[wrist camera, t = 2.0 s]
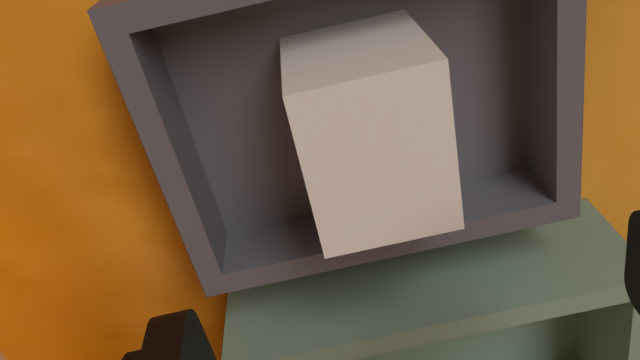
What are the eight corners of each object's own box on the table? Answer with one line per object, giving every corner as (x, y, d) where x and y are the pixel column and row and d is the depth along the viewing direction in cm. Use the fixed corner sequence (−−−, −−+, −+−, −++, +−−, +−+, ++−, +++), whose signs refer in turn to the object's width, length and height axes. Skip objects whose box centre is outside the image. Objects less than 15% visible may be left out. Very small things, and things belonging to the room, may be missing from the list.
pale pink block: (404, 9, 18) (448, 59, 13) (422, 148, 20) (464, 228, 16) (279, 38, 18) (282, 96, 13) (313, 172, 20) (324, 258, 16)
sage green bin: (586, 198, 23) (660, 278, 19) (581, 351, 27) (639, 443, 23) (229, 276, 23) (220, 370, 19) (281, 412, 28) (283, 514, 24)
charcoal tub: (532, -115, 17) (590, -109, 14) (537, 167, 22) (580, 217, 19) (118, -16, 17) (86, 10, 14) (215, 238, 22) (206, 297, 19)
